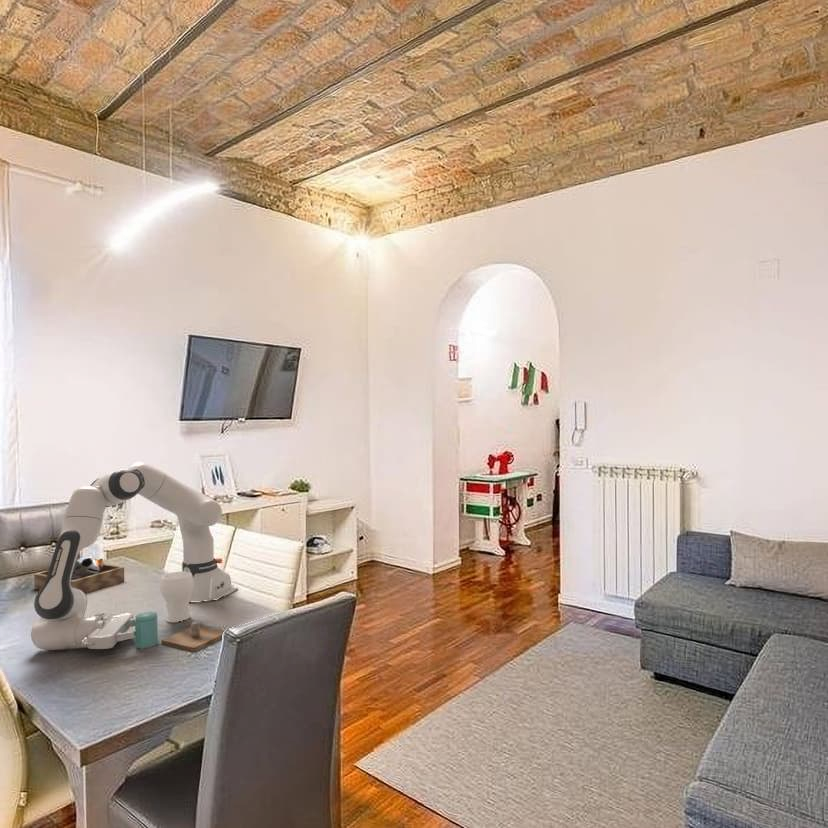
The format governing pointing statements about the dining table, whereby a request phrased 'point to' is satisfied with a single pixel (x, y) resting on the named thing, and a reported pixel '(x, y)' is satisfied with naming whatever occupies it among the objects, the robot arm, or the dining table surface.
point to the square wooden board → (193, 637)
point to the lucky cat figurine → (86, 567)
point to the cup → (177, 595)
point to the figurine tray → (89, 579)
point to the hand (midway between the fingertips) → (139, 628)
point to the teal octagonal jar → (146, 630)
